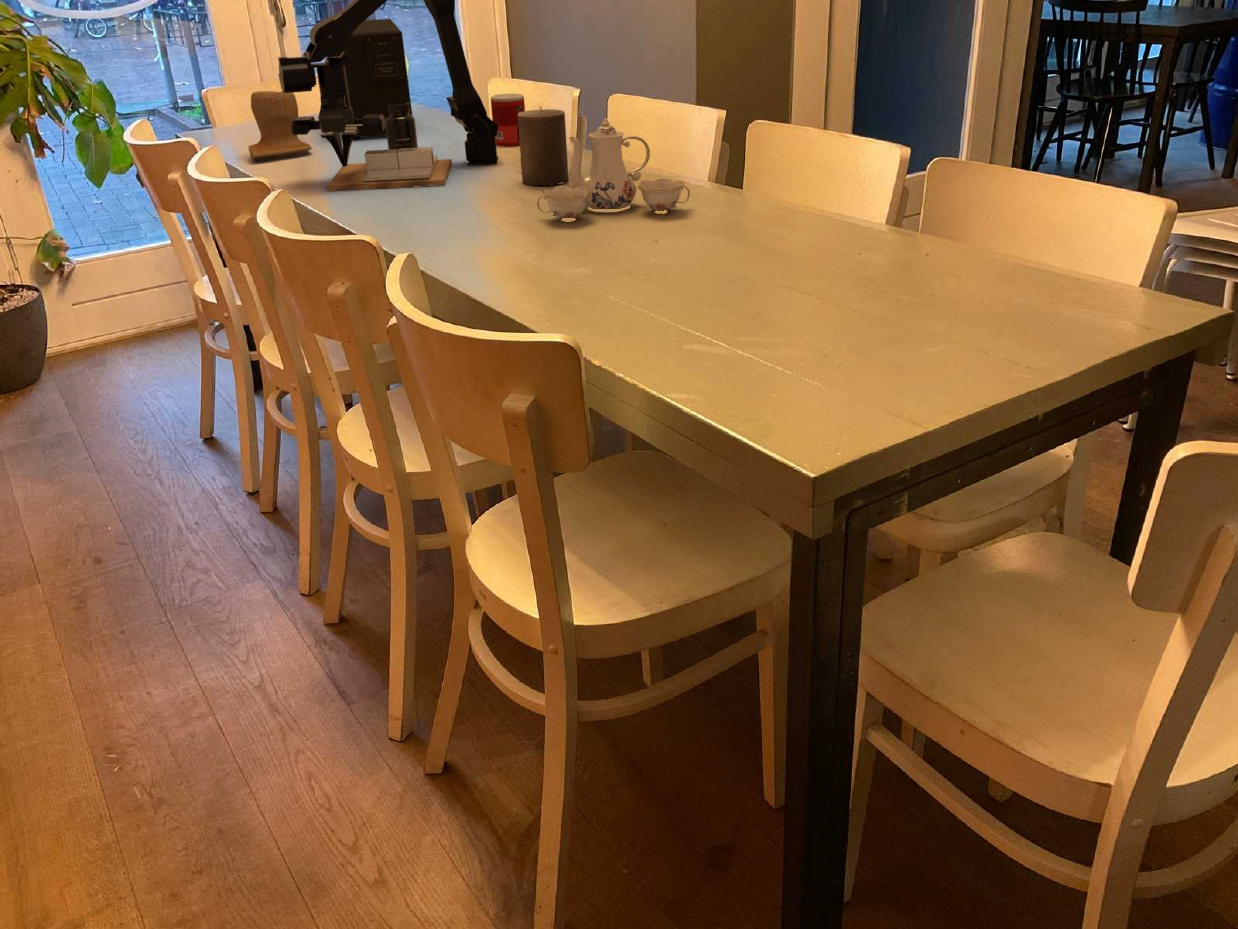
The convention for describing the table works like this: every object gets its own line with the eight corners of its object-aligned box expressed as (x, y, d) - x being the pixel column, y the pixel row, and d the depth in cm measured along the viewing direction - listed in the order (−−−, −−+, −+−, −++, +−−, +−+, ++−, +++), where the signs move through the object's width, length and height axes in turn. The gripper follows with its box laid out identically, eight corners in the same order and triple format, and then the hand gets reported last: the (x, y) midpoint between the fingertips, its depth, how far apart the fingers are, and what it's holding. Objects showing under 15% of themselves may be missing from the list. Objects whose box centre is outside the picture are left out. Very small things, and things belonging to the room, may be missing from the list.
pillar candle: (562, 186, 207) (558, 109, 200) (516, 185, 209) (510, 109, 202) (573, 176, 216) (570, 102, 209) (529, 175, 217) (524, 101, 210)
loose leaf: (434, 166, 221) (432, 147, 219) (429, 177, 212) (427, 158, 210) (369, 169, 220) (367, 150, 219) (362, 181, 211) (359, 161, 209)
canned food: (525, 146, 244) (522, 98, 239) (492, 147, 244) (488, 99, 239) (528, 139, 251) (525, 92, 246) (496, 140, 251) (492, 93, 246)
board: (452, 164, 229) (451, 158, 228) (444, 185, 212) (443, 179, 211) (344, 169, 228) (343, 164, 227) (328, 191, 211) (327, 185, 210)
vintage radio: (333, 118, 287) (317, 21, 275) (402, 112, 291) (390, 17, 279) (337, 143, 255) (319, 35, 243) (415, 136, 260) (402, 30, 247)
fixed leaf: (437, 160, 227) (435, 140, 225) (433, 171, 218) (430, 150, 216) (374, 163, 227) (371, 143, 225) (367, 174, 217) (364, 153, 215)
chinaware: (548, 239, 181) (544, 146, 171) (528, 207, 194) (523, 118, 184) (696, 222, 187) (700, 131, 178) (667, 192, 200) (669, 106, 191)
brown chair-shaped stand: (300, 147, 252) (289, 83, 245) (317, 154, 243) (306, 88, 236) (239, 156, 245) (225, 90, 237) (254, 164, 236) (241, 96, 229)
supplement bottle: (403, 161, 234) (396, 106, 228) (383, 157, 238) (375, 104, 232) (425, 155, 239) (418, 101, 233) (405, 152, 242) (398, 99, 237)
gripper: (279, 96, 203) (292, 176, 210) (373, 93, 204) (383, 173, 211) (291, 88, 213) (303, 164, 220) (381, 85, 214) (390, 161, 221)
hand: (344, 166), depth 218 cm, fingers closed
